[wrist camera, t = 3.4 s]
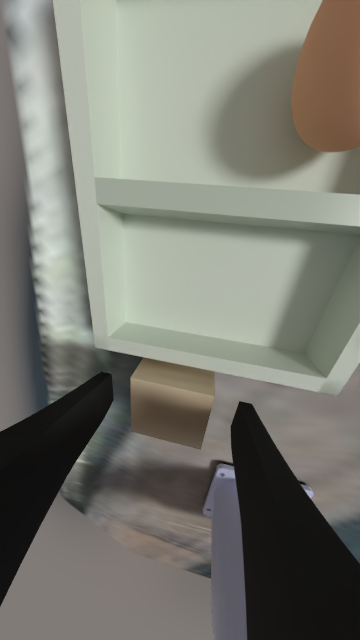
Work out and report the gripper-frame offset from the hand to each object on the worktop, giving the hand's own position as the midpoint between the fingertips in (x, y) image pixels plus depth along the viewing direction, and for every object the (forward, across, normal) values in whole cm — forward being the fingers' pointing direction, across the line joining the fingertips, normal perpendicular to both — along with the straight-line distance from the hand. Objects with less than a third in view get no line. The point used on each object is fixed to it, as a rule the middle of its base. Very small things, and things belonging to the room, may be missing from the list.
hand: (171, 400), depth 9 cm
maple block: (+3, 0, 0) cm, 3 cm away
